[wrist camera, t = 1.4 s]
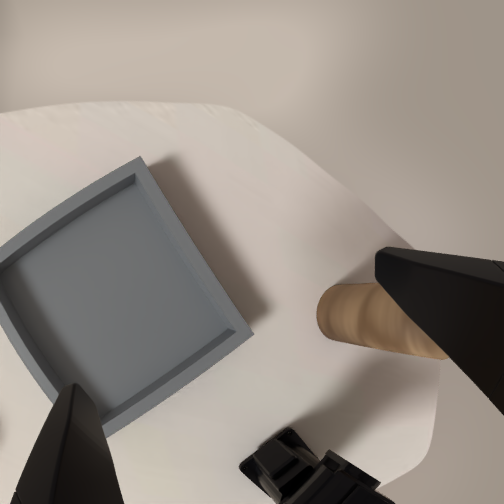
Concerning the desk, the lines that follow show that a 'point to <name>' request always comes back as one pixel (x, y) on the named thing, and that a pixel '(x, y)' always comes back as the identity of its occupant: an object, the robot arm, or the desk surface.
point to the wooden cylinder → (372, 321)
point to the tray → (115, 298)
